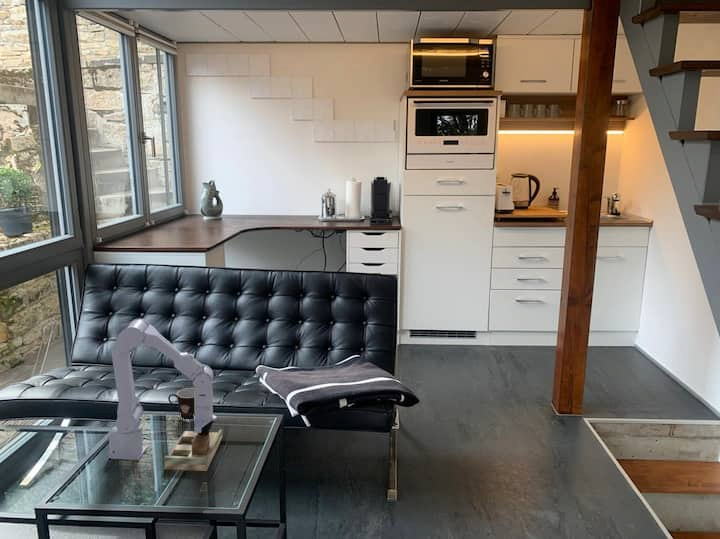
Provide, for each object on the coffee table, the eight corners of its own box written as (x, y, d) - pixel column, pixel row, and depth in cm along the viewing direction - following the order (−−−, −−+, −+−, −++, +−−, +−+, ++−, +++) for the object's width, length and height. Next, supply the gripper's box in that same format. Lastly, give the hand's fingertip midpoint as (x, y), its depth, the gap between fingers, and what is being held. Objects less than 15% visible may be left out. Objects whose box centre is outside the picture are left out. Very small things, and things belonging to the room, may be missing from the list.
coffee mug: (206, 417, 201) (206, 392, 199) (188, 426, 194) (187, 400, 192) (185, 408, 207) (185, 383, 205) (166, 416, 200) (166, 391, 198)
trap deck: (164, 469, 167) (164, 457, 166) (184, 436, 187) (184, 425, 186) (206, 470, 167) (206, 459, 167) (222, 438, 187) (222, 427, 186)
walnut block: (191, 454, 172) (191, 441, 171) (195, 447, 177) (195, 434, 176) (206, 455, 172) (205, 442, 171) (209, 447, 177) (209, 435, 176)
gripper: (210, 415, 168) (210, 454, 171) (221, 394, 182) (221, 431, 185) (187, 414, 168) (187, 453, 171) (200, 393, 182) (200, 430, 185)
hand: (203, 442), depth 178 cm, fingers closed
